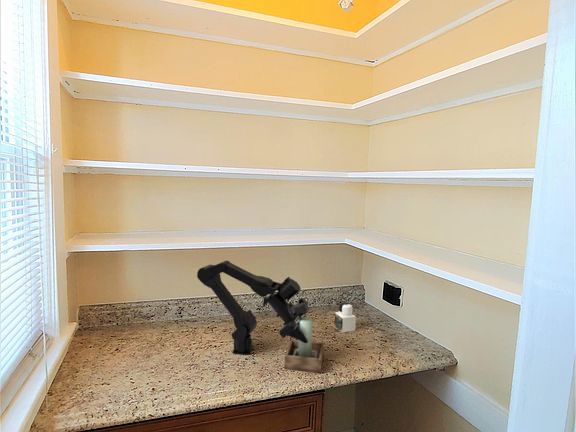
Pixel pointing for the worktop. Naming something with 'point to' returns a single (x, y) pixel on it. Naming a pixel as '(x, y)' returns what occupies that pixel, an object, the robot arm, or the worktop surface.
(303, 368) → the walnut box
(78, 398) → the worktop surface
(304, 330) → the sage peg
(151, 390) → the worktop surface
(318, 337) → the worktop surface
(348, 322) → the medicine bottle
